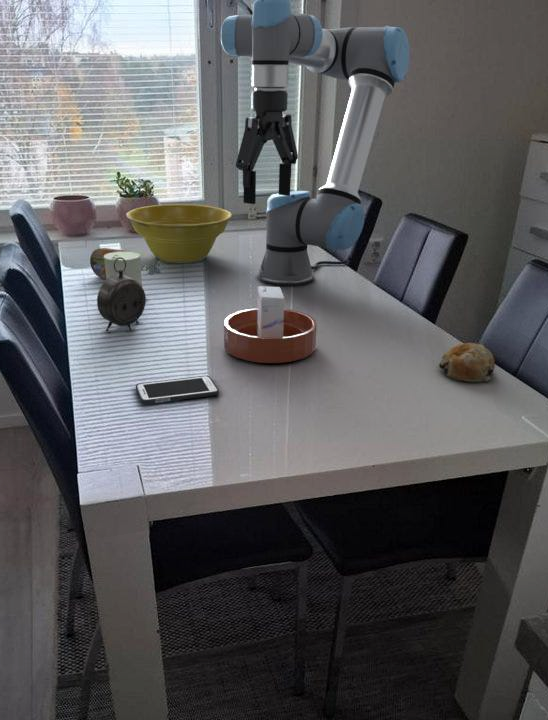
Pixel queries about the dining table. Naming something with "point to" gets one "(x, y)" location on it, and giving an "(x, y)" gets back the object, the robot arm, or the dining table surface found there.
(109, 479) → the dining table surface
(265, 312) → the ink box
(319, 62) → the robot arm
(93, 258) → the tin
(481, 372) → the bread roll
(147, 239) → the planter bowl
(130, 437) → the dining table surface
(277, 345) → the bowl
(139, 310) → the alarm clock
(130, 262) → the can
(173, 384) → the cell phone
